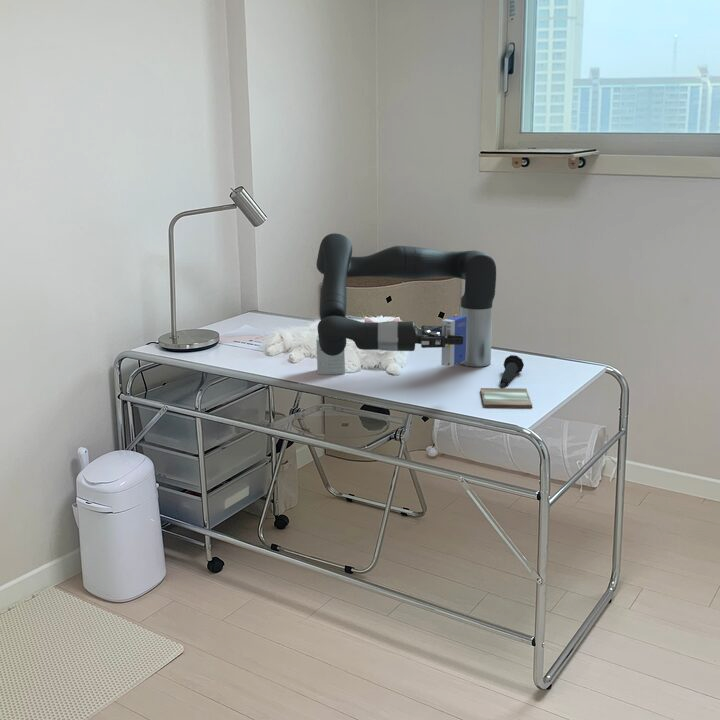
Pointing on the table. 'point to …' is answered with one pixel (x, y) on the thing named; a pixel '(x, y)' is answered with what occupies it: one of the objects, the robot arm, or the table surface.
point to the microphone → (511, 369)
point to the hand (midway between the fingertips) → (462, 336)
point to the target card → (506, 398)
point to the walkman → (454, 352)
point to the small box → (330, 362)
